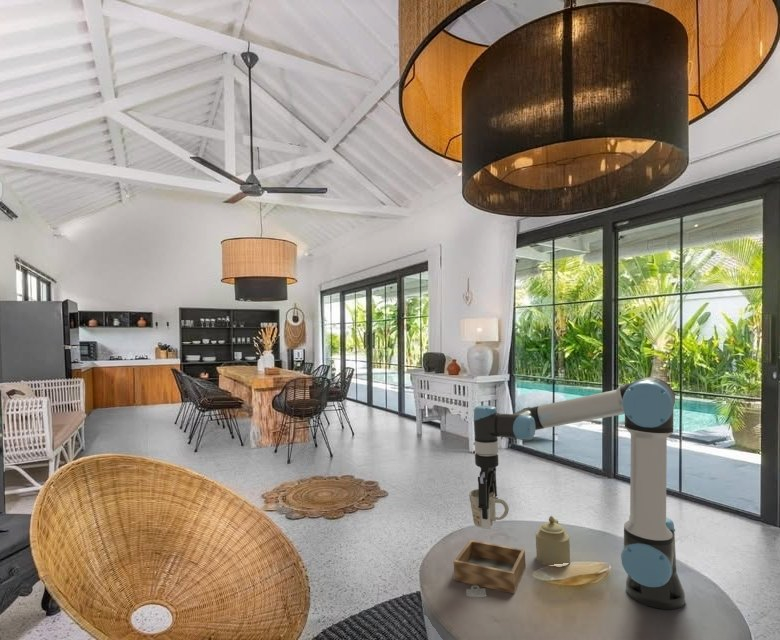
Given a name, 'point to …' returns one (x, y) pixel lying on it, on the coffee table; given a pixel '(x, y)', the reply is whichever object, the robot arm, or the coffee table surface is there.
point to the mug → (477, 511)
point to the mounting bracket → (476, 592)
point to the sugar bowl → (552, 543)
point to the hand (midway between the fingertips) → (489, 524)
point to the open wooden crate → (490, 566)
